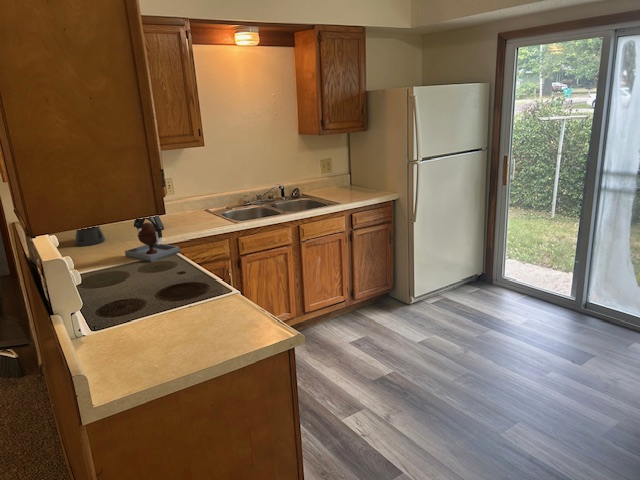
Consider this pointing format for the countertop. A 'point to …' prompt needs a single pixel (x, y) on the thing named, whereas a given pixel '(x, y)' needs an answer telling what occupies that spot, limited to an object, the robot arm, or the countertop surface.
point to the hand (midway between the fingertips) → (151, 242)
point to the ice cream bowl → (148, 237)
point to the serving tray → (161, 253)
